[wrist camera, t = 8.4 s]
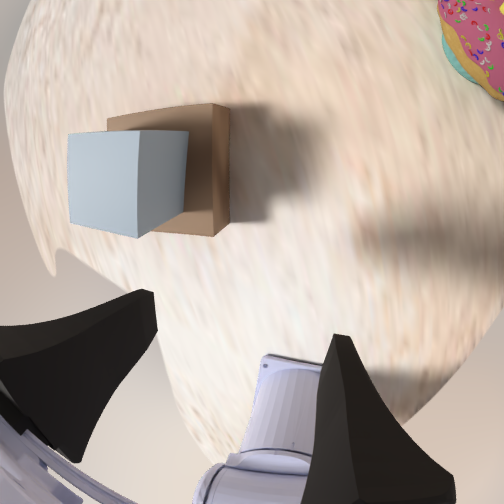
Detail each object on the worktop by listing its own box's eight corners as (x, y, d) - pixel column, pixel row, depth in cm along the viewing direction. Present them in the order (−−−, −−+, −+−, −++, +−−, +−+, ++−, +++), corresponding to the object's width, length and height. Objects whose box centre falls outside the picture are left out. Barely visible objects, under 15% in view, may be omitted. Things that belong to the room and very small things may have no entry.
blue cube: (183, 212, 17) (137, 238, 13) (121, 202, 18) (70, 223, 14) (189, 131, 15) (139, 130, 11) (122, 130, 16) (68, 134, 12)
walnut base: (231, 221, 20) (213, 236, 17) (140, 215, 22) (114, 227, 19) (231, 109, 17) (212, 103, 14) (135, 119, 19) (107, 118, 16)
